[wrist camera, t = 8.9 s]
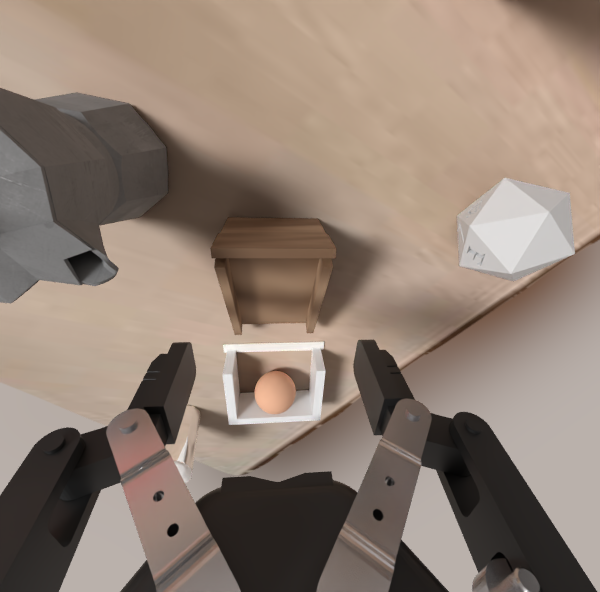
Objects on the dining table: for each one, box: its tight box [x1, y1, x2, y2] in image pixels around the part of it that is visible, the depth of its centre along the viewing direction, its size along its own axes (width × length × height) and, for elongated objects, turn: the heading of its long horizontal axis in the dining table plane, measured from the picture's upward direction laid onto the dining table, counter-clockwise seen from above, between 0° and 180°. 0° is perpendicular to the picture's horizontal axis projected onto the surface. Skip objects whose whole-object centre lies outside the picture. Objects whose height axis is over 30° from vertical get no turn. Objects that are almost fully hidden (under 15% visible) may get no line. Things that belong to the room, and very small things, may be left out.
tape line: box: [223, 341, 324, 353], centre depth 35 cm, size 1×12×1 cm, turn 88°
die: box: [457, 178, 575, 281], centre depth 26 cm, size 8×9×10 cm
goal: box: [223, 348, 326, 425], centre depth 35 cm, size 8×11×4 cm
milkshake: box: [165, 405, 200, 483], centre depth 35 cm, size 4×5×10 cm
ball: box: [255, 371, 296, 414], centre depth 35 cm, size 5×5×5 cm
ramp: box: [211, 217, 336, 335], centre depth 26 cm, size 12×8×9 cm
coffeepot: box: [0, 88, 168, 303], centre depth 15 cm, size 15×9×18 cm, turn 57°
